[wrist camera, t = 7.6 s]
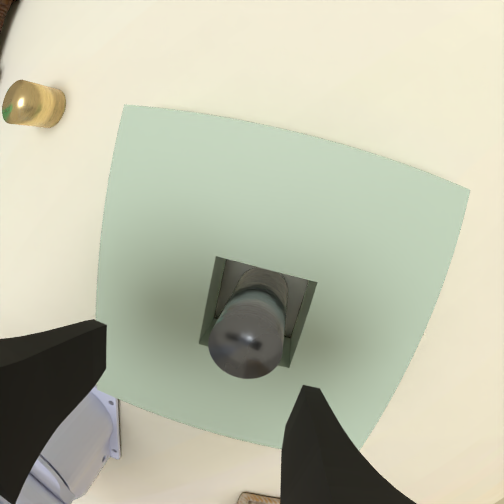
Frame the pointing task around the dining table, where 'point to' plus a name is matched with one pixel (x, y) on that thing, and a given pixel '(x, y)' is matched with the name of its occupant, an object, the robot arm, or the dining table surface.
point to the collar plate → (265, 267)
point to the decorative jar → (256, 499)
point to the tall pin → (251, 326)
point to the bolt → (4, 10)
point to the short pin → (33, 105)
